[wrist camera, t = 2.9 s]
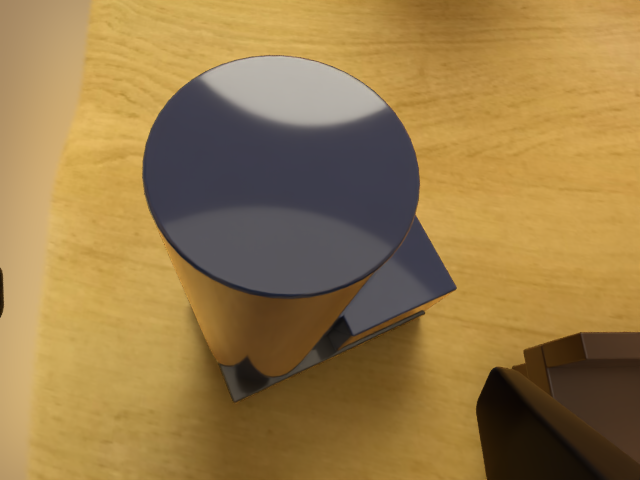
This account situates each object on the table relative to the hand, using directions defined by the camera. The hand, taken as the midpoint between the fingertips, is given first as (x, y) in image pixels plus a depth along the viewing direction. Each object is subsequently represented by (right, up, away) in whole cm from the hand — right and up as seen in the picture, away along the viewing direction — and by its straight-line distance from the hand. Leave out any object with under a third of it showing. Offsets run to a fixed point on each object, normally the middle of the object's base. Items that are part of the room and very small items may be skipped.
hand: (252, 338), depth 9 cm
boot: (+1, -1, +10) cm, 10 cm away
